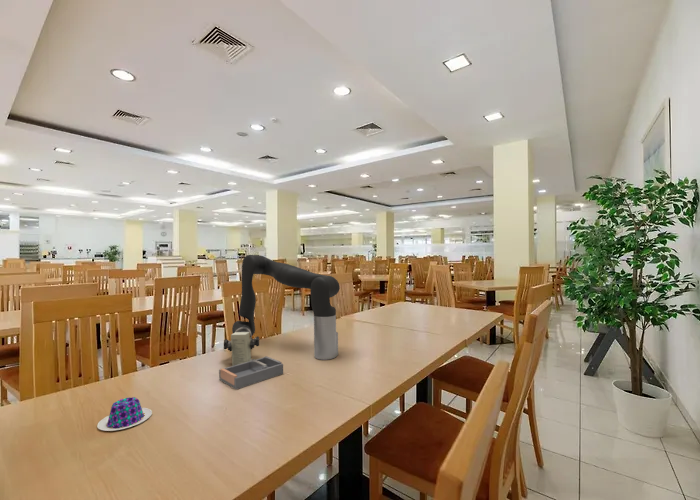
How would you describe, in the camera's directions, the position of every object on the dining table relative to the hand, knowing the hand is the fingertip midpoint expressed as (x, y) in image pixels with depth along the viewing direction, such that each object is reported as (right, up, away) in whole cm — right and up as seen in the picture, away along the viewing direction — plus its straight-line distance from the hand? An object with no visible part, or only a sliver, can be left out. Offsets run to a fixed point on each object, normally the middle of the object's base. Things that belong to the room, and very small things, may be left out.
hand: (241, 347), depth 127 cm
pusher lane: (+8, -7, -11) cm, 15 cm away
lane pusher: (+9, -6, -9) cm, 14 cm away
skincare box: (0, -7, +2) cm, 8 cm away
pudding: (-17, -8, -40) cm, 44 cm away
